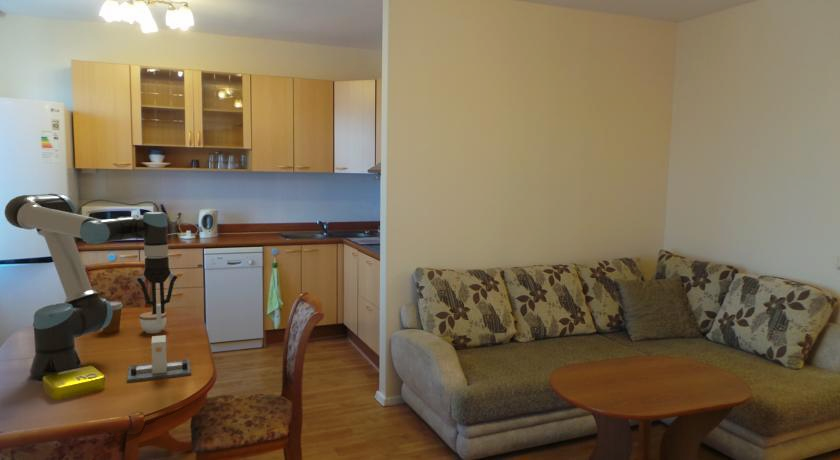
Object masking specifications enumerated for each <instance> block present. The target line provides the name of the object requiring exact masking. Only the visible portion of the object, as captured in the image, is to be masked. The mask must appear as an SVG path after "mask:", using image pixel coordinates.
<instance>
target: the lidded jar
mask: <svg viewBox="0 0 840 460" xmlns="http://www.w3.org/2000/svg"><path fill="white" fill-rule="evenodd" d="M167 317H168V315H167V312H166V311H165V312H164V314H161V321H162V322H161V324H157V317H156V314H153V310H151V311H148V312H143V313H141V314H139V323H140V326H141V329H142V330H143V331H144V332H145V333H146V334H149V335H150V334H158V333H159V334H160V333H161V332H162V331H163V330H164V328H165V327H166V325H167Z"/></svg>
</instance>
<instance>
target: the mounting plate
mask: <svg viewBox="0 0 840 460" xmlns="http://www.w3.org/2000/svg"><path fill="white" fill-rule="evenodd" d="M166 368H167V372H163V373H154V374H152V363H145V364H143V363H142V364H138V365H137V364H132V365H129V367H128V371H127V378H126V383H133V382H136V383H137V382H142V381H143V382H144V381H151V380H152V379H153V380H159V379H167V378H168V379H169V378H176V377H184V376H191V375H192V374H191V373H192V372H191V369H192V368H191V361H190V359H186V358H185V359H182V360H174V361H173V360H172V361H171V360H170V361H167V363H166Z"/></svg>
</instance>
